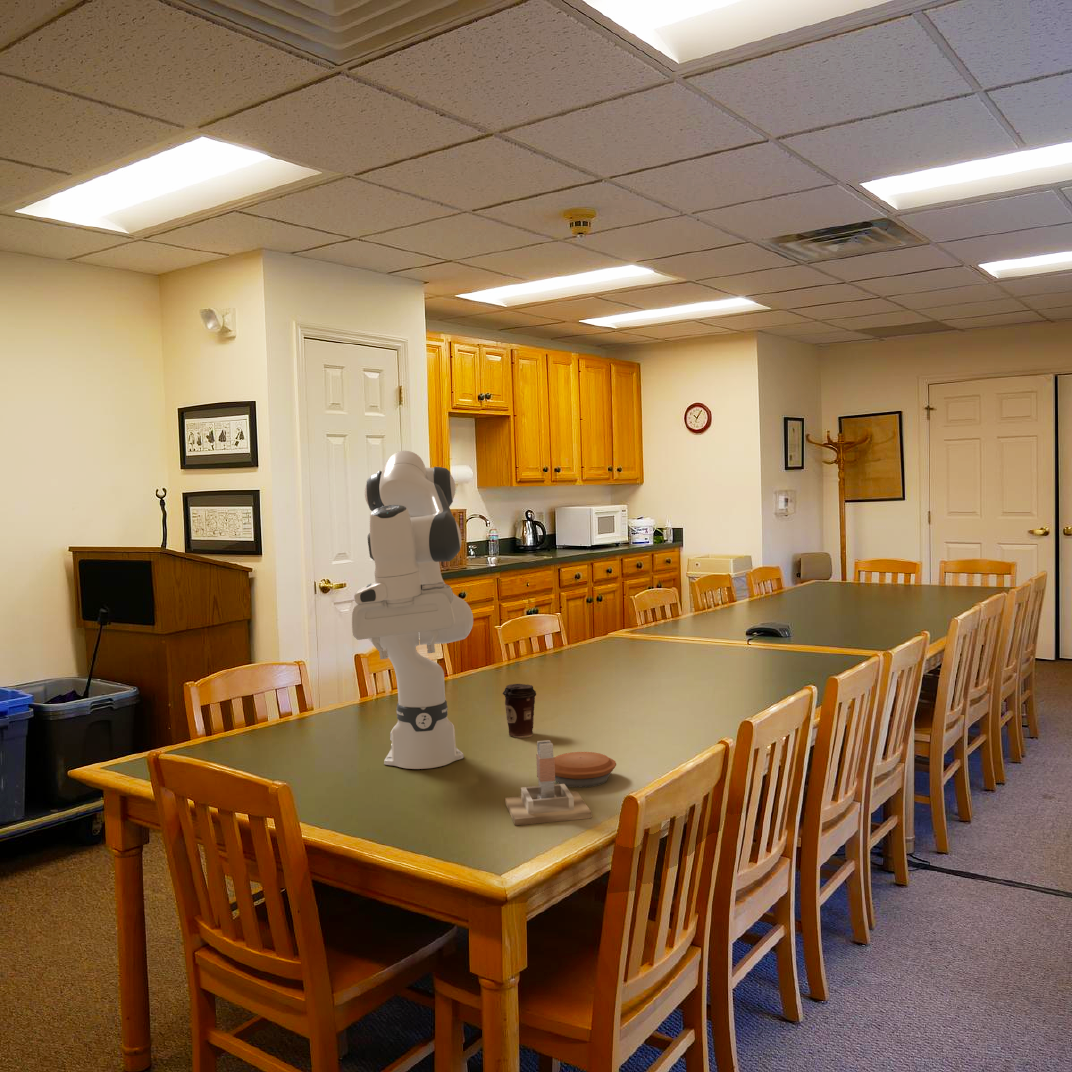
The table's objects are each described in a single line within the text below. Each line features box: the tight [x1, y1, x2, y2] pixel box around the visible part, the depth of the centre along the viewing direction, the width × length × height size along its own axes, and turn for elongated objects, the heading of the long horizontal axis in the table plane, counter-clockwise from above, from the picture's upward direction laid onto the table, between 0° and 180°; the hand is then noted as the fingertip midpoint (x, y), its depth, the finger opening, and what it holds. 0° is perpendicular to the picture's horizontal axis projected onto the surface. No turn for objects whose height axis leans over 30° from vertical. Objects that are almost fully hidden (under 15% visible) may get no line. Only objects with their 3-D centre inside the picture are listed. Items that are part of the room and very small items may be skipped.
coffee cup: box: [502, 683, 537, 739], centre depth 248 cm, size 9×8×13 cm
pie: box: [553, 751, 617, 788], centre depth 209 cm, size 16×16×5 cm
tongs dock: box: [504, 783, 592, 826], centre depth 189 cm, size 13×15×4 cm
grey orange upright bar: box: [535, 739, 556, 799], centre depth 189 cm, size 4×4×12 cm
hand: (407, 655), depth 190 cm, fingers open, 8 cm apart
